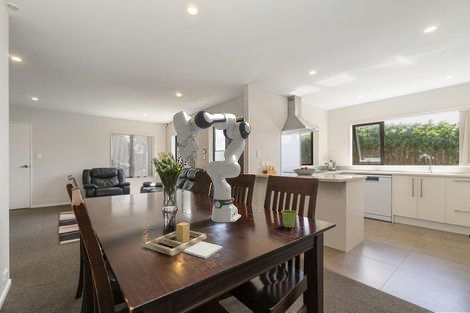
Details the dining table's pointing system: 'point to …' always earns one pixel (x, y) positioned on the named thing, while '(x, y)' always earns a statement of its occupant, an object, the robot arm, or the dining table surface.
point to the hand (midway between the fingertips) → (192, 163)
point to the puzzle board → (174, 243)
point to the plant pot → (289, 218)
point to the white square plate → (203, 249)
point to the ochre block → (182, 232)
